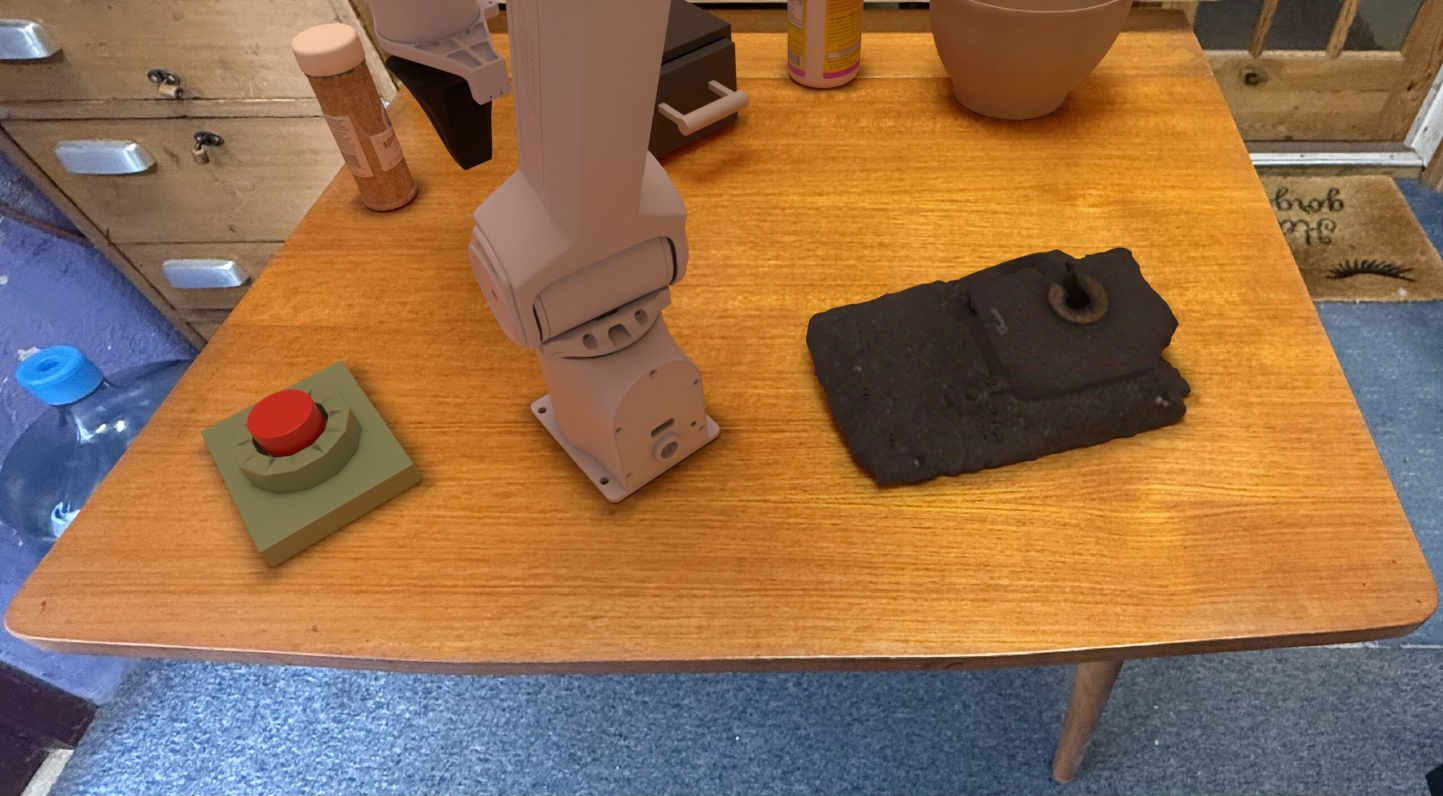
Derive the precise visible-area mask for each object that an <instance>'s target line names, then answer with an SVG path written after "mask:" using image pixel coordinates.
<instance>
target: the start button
mask: <svg viewBox="0 0 1443 796" xmlns="http://www.w3.org/2000/svg"><path fill="white" fill-rule="evenodd" d="M281 390H282V391H281ZM281 390H279V391H275V392H273V393H271V394H269V395H267V396H265V397H264V398H262V399H260V400H259V401H258V402H256V403H257V404H256V403H255V404H256V405H255V406H254V407H253V409H252V410H251V411H250V413H249V415H248V418H247V428H248V430H249V432H250V433H251V434H252V436H253V437H254V438H255V440H256V441H257V442H258V444H259V445H260V446H261V447H262V449H263V450H264V451H265V452H266V453H268V454H270V455H273V456H278V457H284V456H291V455H294V454H296V453H298V452H300V451H301V450H303V449H305V448H307V447H309V446H311V445H313V444H314V442H315V441H316V440H317V439H318V438H319V437H320V436H321V434H322V433H323V431H324V428H325V419H324V417H323V415H322V413H321V412H320V410H319V409H318V407H317V406H316V404H315V403H314V401H313V400H312V398H311V397H310V395H308V394H307V393H305V392H303V391H301V390H295V389H289V390H283V389H281Z"/></svg>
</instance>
